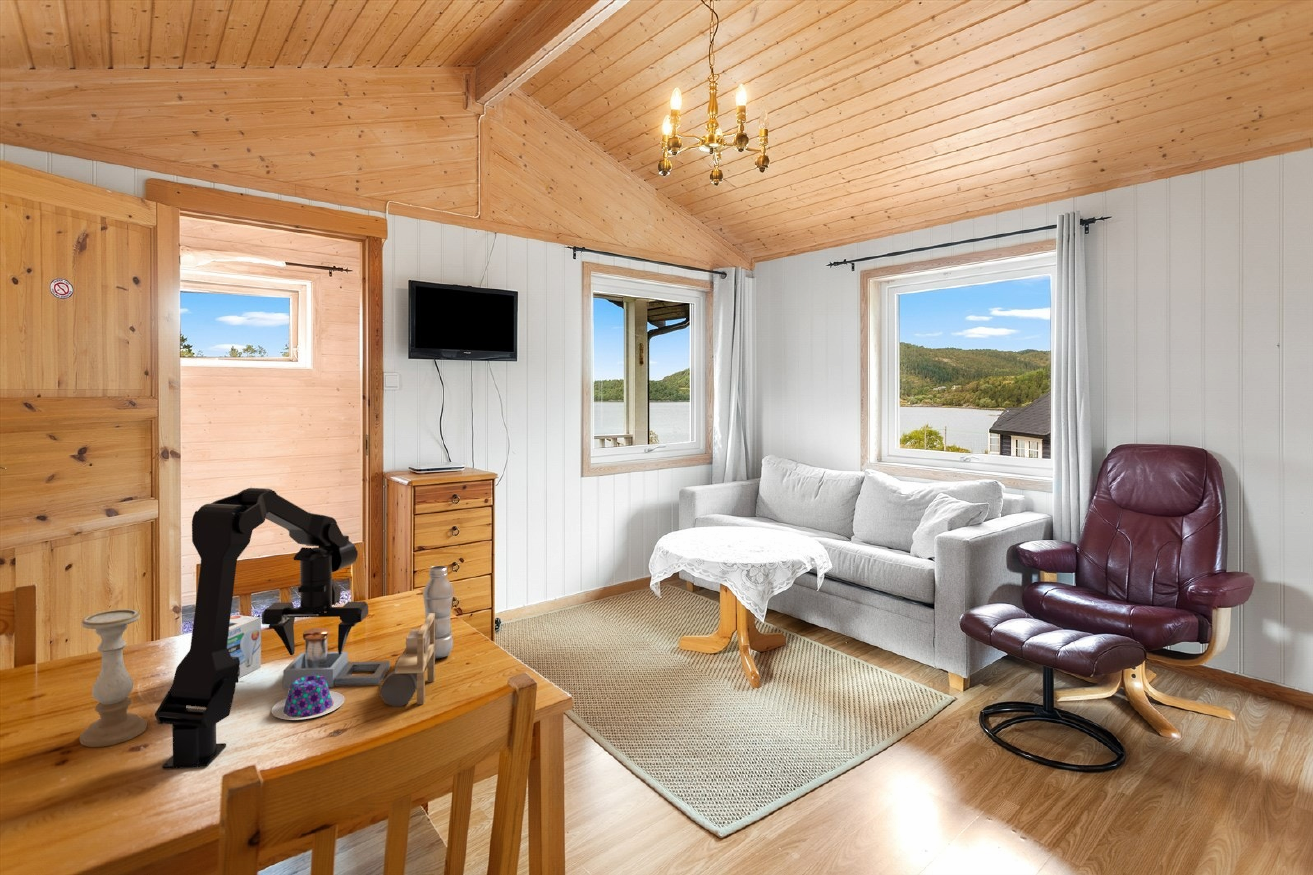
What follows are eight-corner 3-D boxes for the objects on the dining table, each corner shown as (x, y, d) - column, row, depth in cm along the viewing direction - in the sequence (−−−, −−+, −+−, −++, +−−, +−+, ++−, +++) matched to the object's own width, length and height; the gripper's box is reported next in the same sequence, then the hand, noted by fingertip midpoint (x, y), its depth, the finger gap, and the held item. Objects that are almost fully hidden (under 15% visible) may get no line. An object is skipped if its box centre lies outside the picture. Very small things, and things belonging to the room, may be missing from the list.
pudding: (302, 691, 133) (302, 665, 133) (357, 697, 131) (357, 671, 131) (255, 719, 121) (255, 691, 121) (315, 727, 119) (315, 698, 119)
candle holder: (138, 717, 120) (136, 604, 119) (153, 733, 115) (151, 615, 114) (74, 735, 114) (70, 616, 112) (87, 753, 108) (83, 628, 107)
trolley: (422, 705, 128) (423, 633, 127) (380, 707, 127) (380, 634, 126) (435, 678, 140) (435, 612, 139) (396, 679, 139) (396, 613, 138)
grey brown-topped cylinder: (325, 679, 136) (325, 635, 136) (299, 680, 136) (299, 636, 135) (332, 669, 141) (332, 627, 141) (307, 671, 140) (307, 628, 140)
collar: (379, 684, 136) (379, 677, 136) (334, 686, 135) (334, 678, 135) (390, 667, 144) (390, 660, 144) (347, 669, 143) (347, 662, 143)
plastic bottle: (415, 658, 150) (415, 568, 149) (438, 648, 156) (438, 562, 155) (436, 664, 147) (437, 573, 146) (459, 654, 153) (460, 566, 152)
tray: (333, 687, 135) (332, 669, 134) (283, 688, 133) (283, 670, 133) (347, 668, 144) (347, 651, 143) (301, 669, 142) (301, 652, 142)
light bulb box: (221, 687, 133) (220, 633, 132) (192, 684, 134) (191, 630, 134) (262, 666, 144) (262, 616, 143) (235, 663, 145) (234, 613, 144)
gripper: (375, 567, 146) (375, 639, 147) (283, 568, 144) (283, 641, 145) (360, 581, 135) (360, 658, 136) (259, 583, 133) (260, 661, 134)
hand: (316, 654), depth 138 cm, fingers open, 9 cm apart
